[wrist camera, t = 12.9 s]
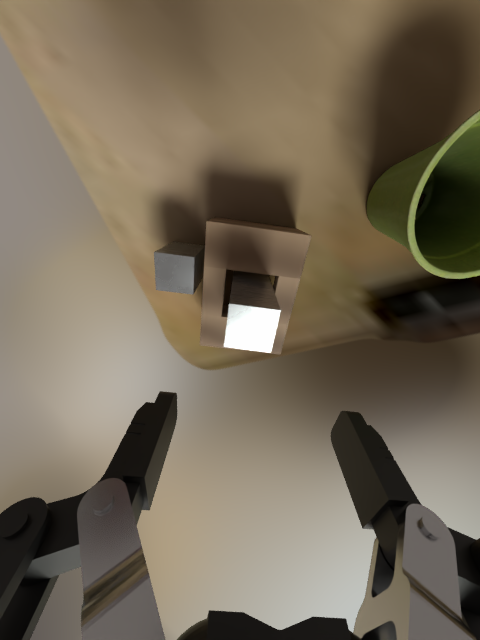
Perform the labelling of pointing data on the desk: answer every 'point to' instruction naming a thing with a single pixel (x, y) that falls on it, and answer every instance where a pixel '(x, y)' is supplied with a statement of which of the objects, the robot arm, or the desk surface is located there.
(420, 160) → the plant pot
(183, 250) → the grey rectangular block
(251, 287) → the tall pin
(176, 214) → the desk surface
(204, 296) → the block with rectangular hole
